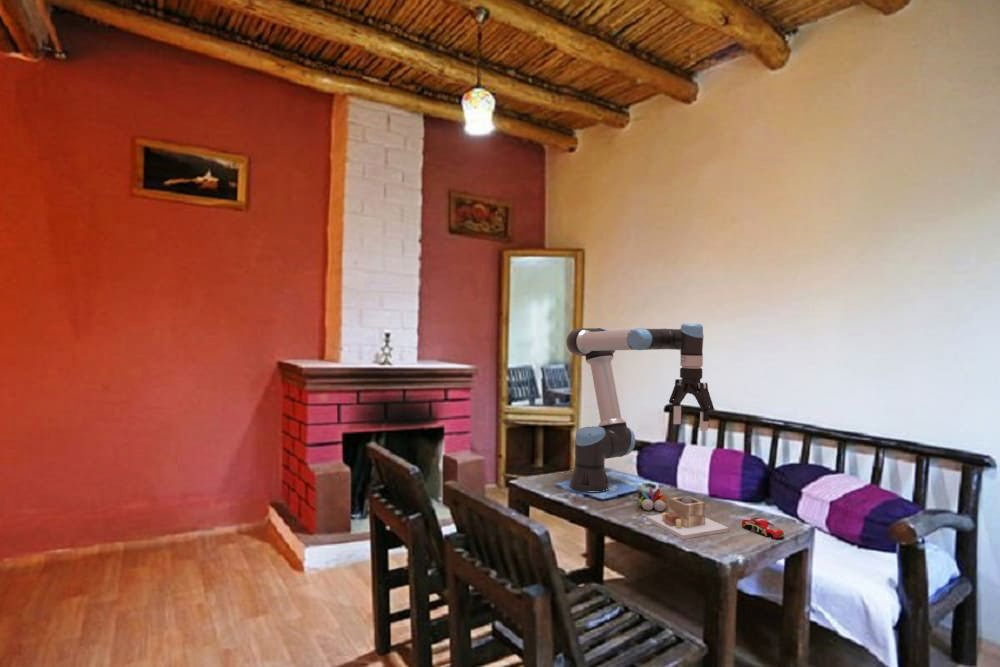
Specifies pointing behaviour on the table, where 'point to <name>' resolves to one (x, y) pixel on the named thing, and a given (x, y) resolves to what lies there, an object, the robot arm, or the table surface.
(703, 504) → the flange collar
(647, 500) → the rainbow spiky toy
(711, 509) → the table surface
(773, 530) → the race car
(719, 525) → the post board
